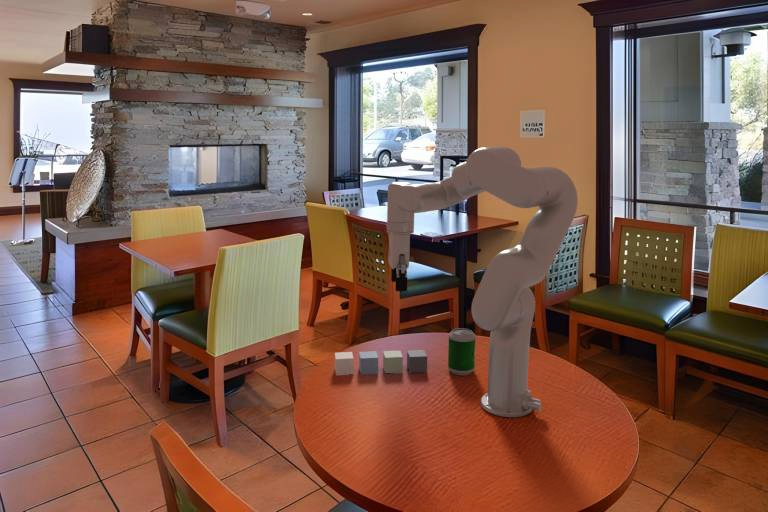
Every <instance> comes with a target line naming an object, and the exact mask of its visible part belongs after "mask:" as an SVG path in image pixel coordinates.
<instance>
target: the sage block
mask: <svg viewBox="0 0 768 512" xmlns="http://www.w3.org/2000/svg"><path fill="white" fill-rule="evenodd" d="M403 360H404V356H403V354H402V351H401V350H383V351H382V361H383V362H382V363H383V364H382V367H384V368H383V371H384V374H385V373H395V374H403V373H404V371H403V370H404V369H403V367H404V363H403V362H404V361H403ZM402 372H403V373H402Z"/></svg>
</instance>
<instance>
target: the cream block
mask: <svg viewBox="0 0 768 512" xmlns="http://www.w3.org/2000/svg"><path fill="white" fill-rule="evenodd" d="M334 370H335V371H334V372H335V376H350V375H349V374H354V354H353V351H342V352H341V351H339V352H334Z"/></svg>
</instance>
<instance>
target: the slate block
mask: <svg viewBox="0 0 768 512" xmlns="http://www.w3.org/2000/svg"><path fill="white" fill-rule="evenodd" d="M358 361H359V362H358V364H359V365H358V367H359V368H360V369H359V374H360V373H361V374H366V375H379V356H378V352H377V351H376V350H369V351H359V352H358ZM361 374H360V375H361Z"/></svg>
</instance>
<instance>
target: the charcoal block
mask: <svg viewBox="0 0 768 512" xmlns="http://www.w3.org/2000/svg"><path fill="white" fill-rule="evenodd" d="M406 367H408V368H407V370H408V369H409V370H408V372H409V371H410V372H424V373H428V355H427V353H426V351H425V349H413V350H406ZM410 372H409V373H410Z"/></svg>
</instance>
